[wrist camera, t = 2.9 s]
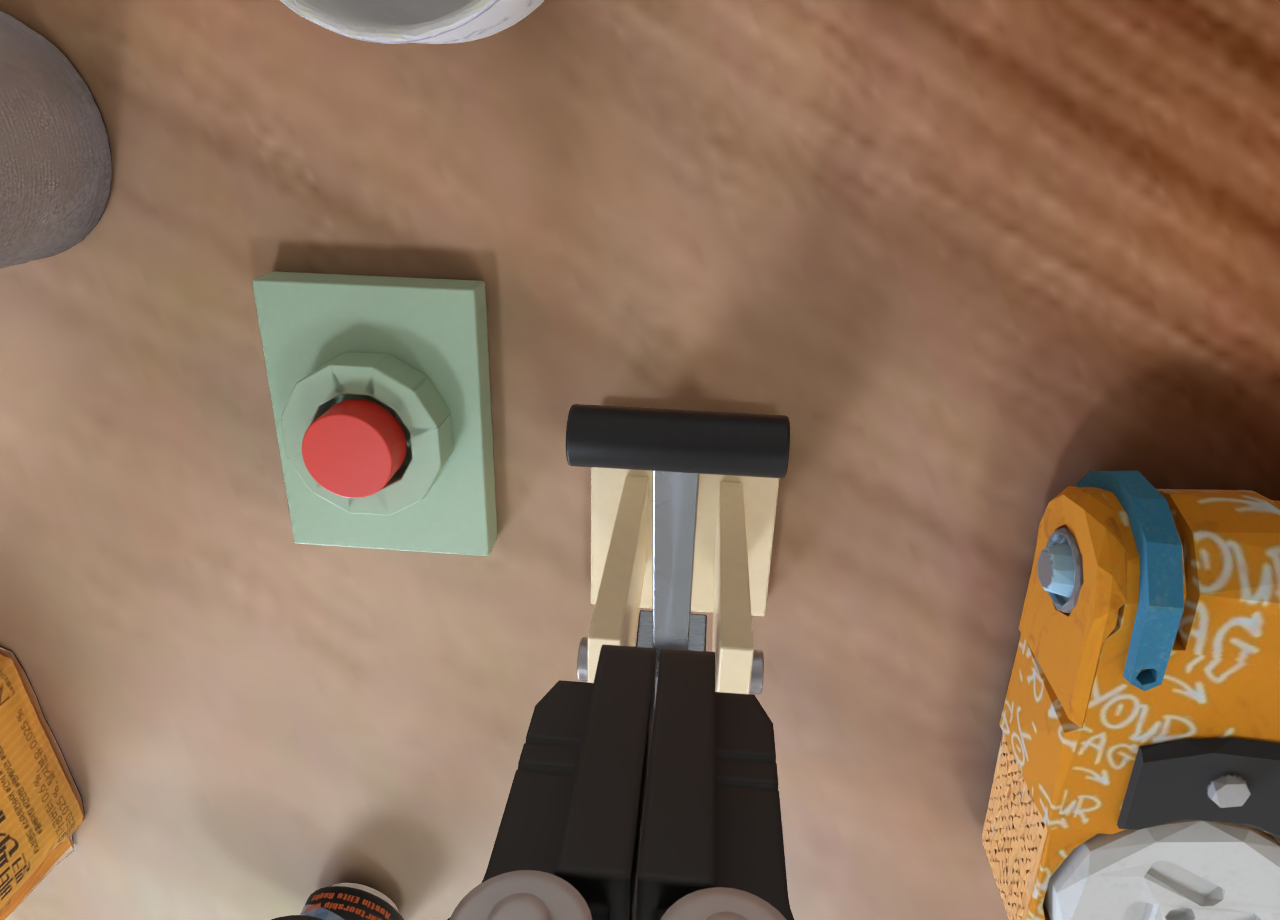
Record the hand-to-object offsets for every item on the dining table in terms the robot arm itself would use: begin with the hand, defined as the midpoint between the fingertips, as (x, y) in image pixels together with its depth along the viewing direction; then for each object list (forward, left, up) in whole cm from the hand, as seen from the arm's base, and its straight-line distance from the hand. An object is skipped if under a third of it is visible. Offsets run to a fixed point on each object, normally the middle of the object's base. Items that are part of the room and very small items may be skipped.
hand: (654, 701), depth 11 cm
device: (+20, +26, -25) cm, 41 cm away
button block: (+6, -13, -25) cm, 29 cm away
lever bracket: (+10, 0, -25) cm, 27 cm away
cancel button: (+6, -13, -21) cm, 26 cm away
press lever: (+5, 0, -13) cm, 13 cm away
